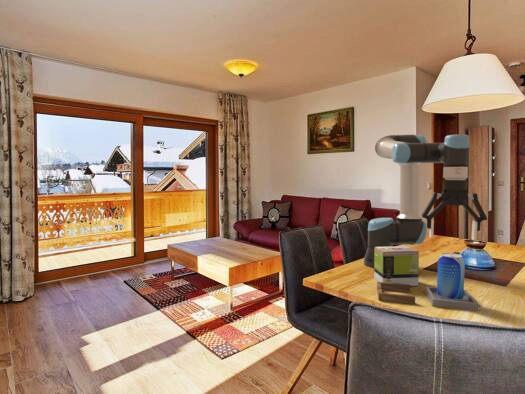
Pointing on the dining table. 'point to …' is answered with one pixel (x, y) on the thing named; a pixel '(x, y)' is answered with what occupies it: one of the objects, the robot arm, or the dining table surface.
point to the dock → (394, 296)
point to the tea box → (396, 265)
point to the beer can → (450, 277)
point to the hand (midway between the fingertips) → (452, 238)
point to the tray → (465, 303)
